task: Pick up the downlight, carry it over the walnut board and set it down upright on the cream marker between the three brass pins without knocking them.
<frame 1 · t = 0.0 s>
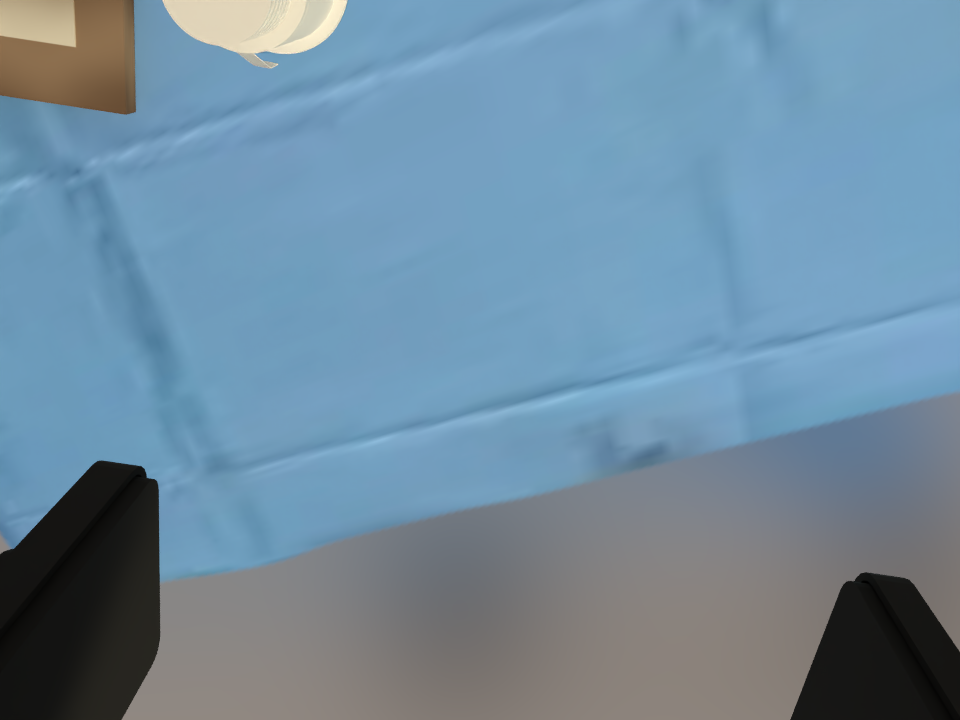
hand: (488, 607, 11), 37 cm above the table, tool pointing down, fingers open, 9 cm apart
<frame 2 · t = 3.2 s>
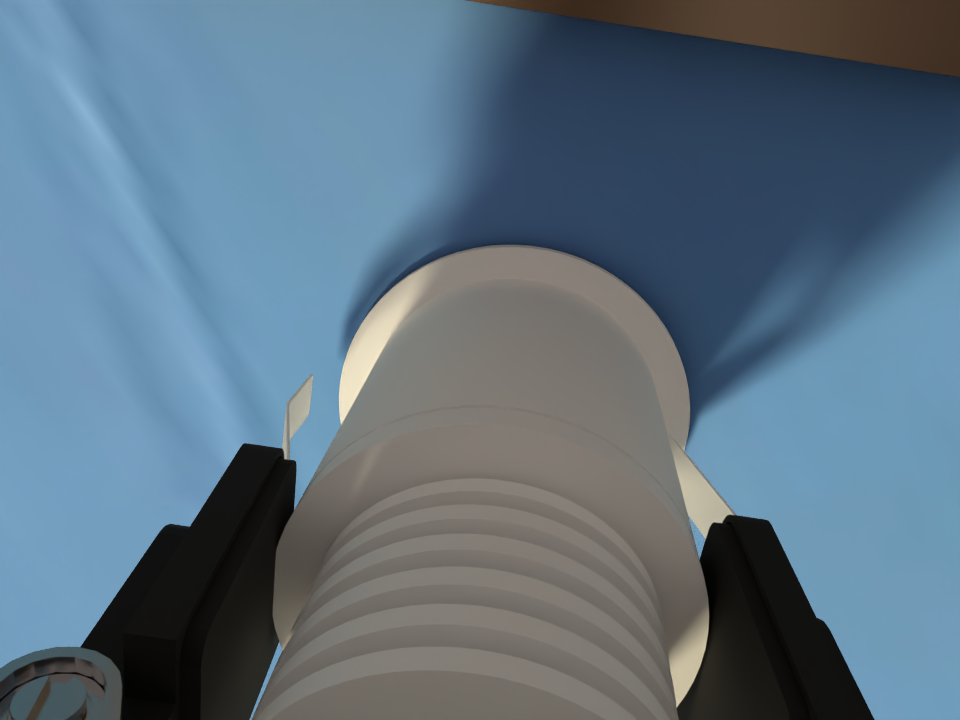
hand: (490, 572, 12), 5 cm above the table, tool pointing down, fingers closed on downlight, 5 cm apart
downlight: (506, 405, 17), on the table, touching gripper
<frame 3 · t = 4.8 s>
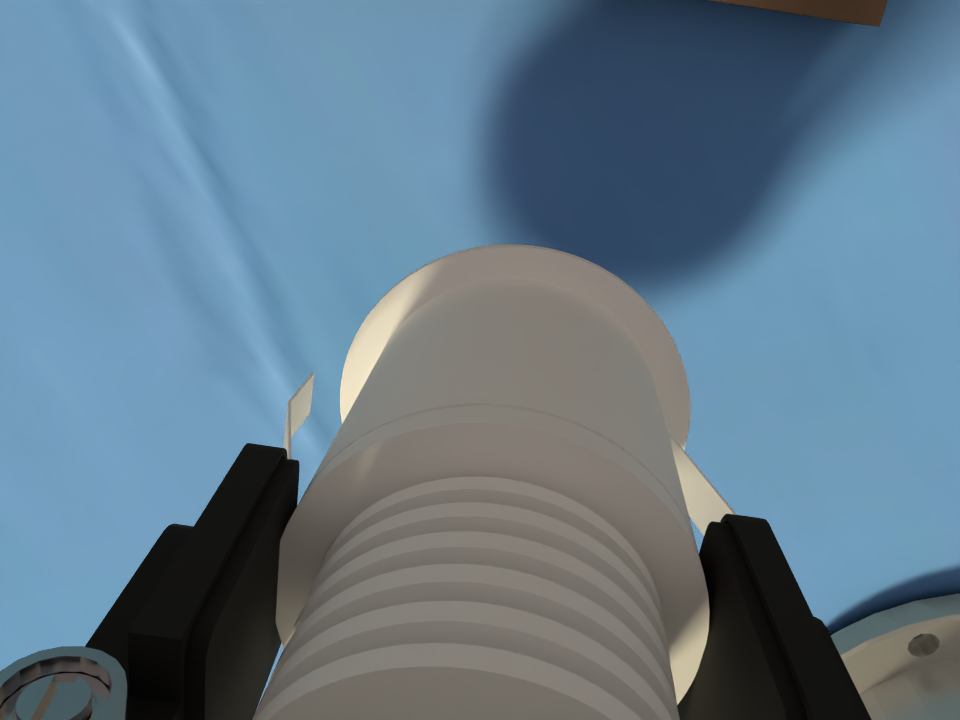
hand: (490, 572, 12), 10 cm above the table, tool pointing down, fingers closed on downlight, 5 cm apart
downlight: (506, 404, 17), point 5 cm above the table, touching gripper
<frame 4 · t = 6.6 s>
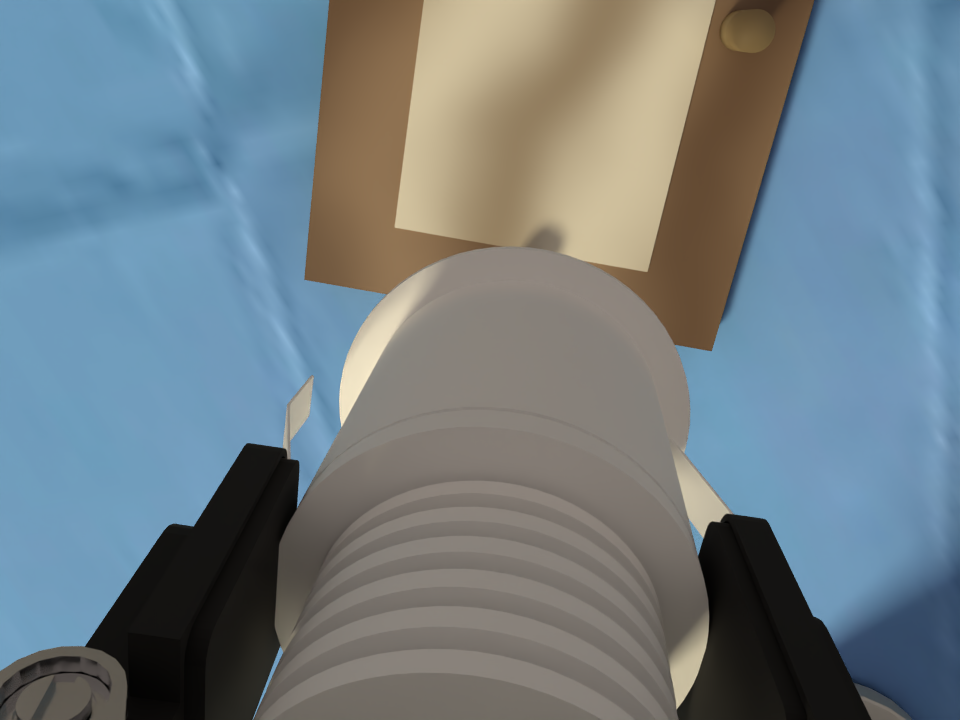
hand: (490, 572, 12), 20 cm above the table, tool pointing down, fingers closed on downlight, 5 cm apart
pin board: (548, 99, 29), on the table
downlight: (506, 406, 17), point 14 cm above the table, touching gripper
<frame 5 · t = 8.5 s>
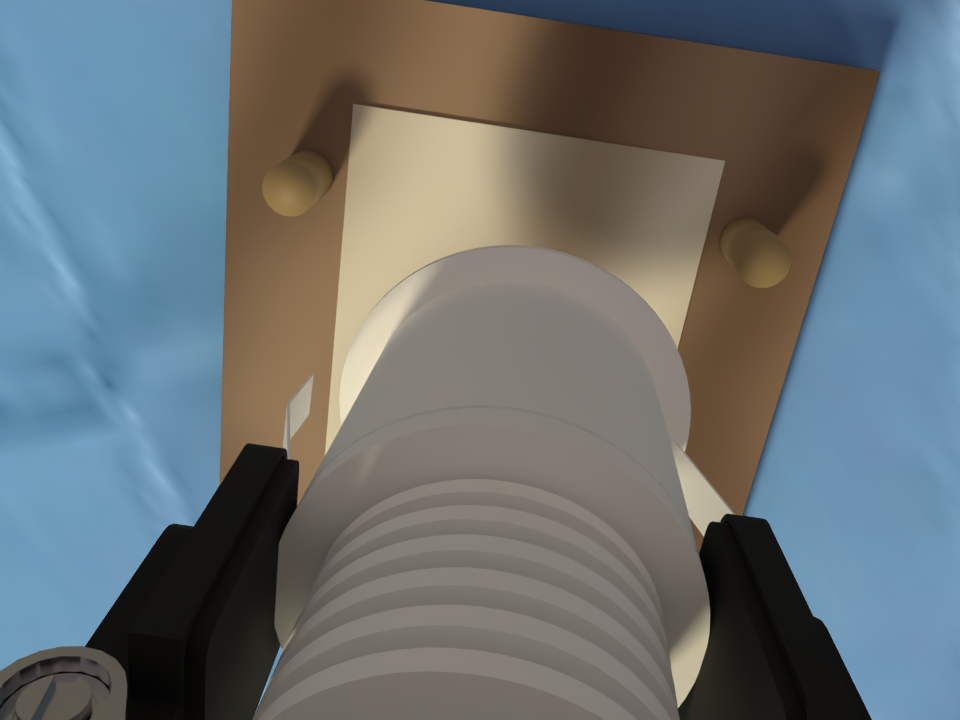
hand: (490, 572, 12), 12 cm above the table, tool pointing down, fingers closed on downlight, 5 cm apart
pin board: (508, 310, 23), on the table
downlight: (506, 405, 17), point 6 cm above the table, touching gripper
when the fingers open (8 cm above the table, at t = 9.7 s): downlight drops 1 cm, resting on pin board.
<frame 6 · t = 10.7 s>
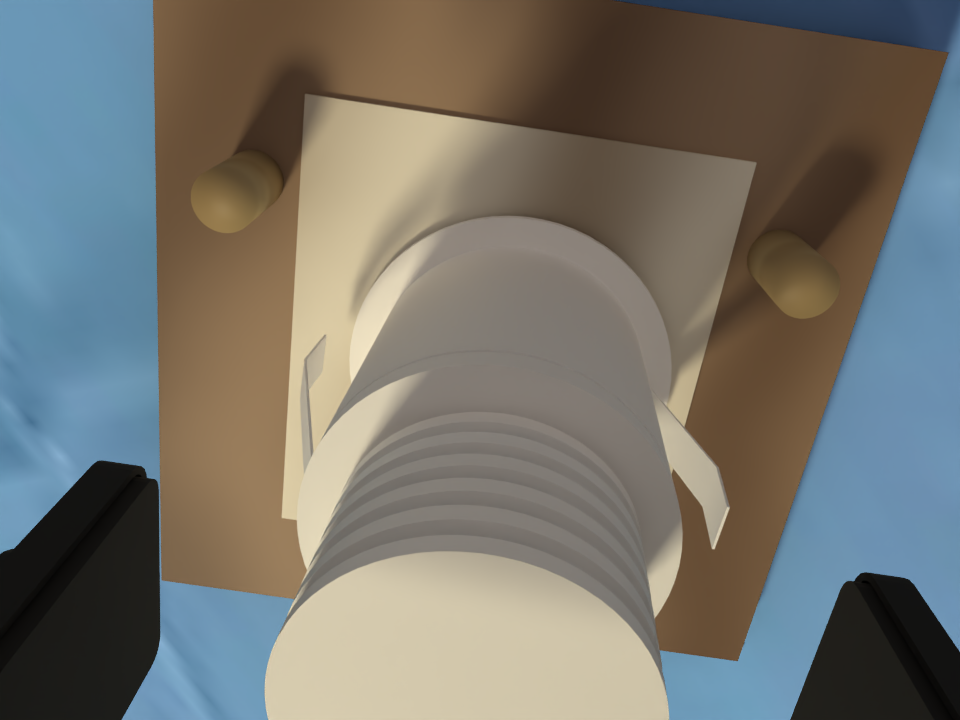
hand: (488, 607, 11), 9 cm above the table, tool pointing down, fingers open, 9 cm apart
pin board: (495, 336, 20), on the table
downlight: (503, 365, 19), point 1 cm above the table, touching pin board
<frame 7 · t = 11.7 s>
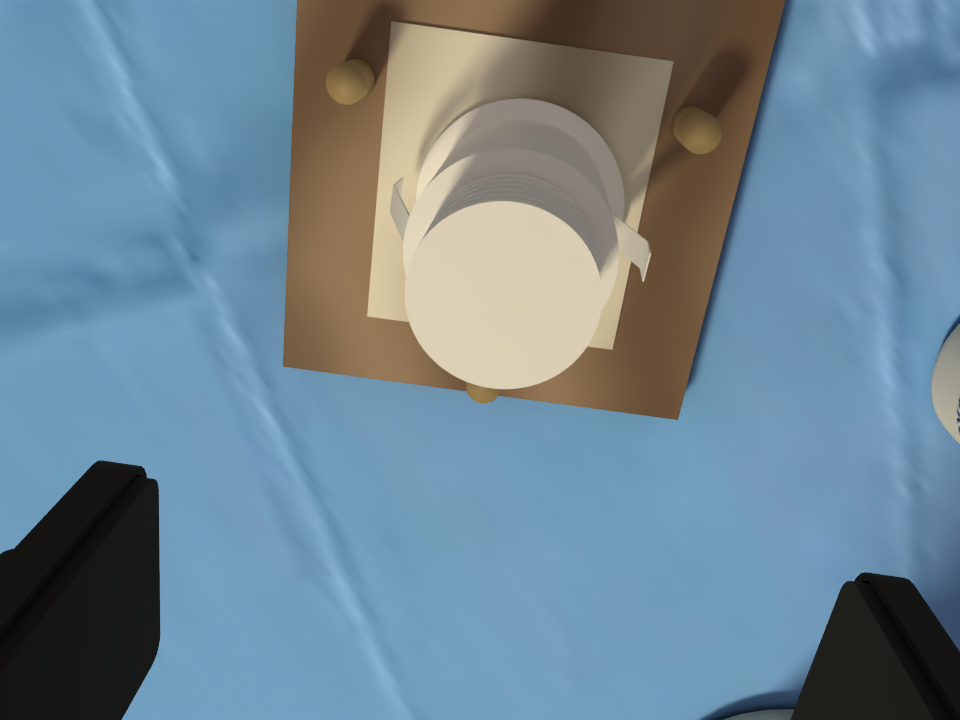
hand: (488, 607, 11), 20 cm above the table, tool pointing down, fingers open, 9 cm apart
pin board: (510, 189, 30), on the table
downlight: (515, 203, 29), point 1 cm above the table, touching pin board
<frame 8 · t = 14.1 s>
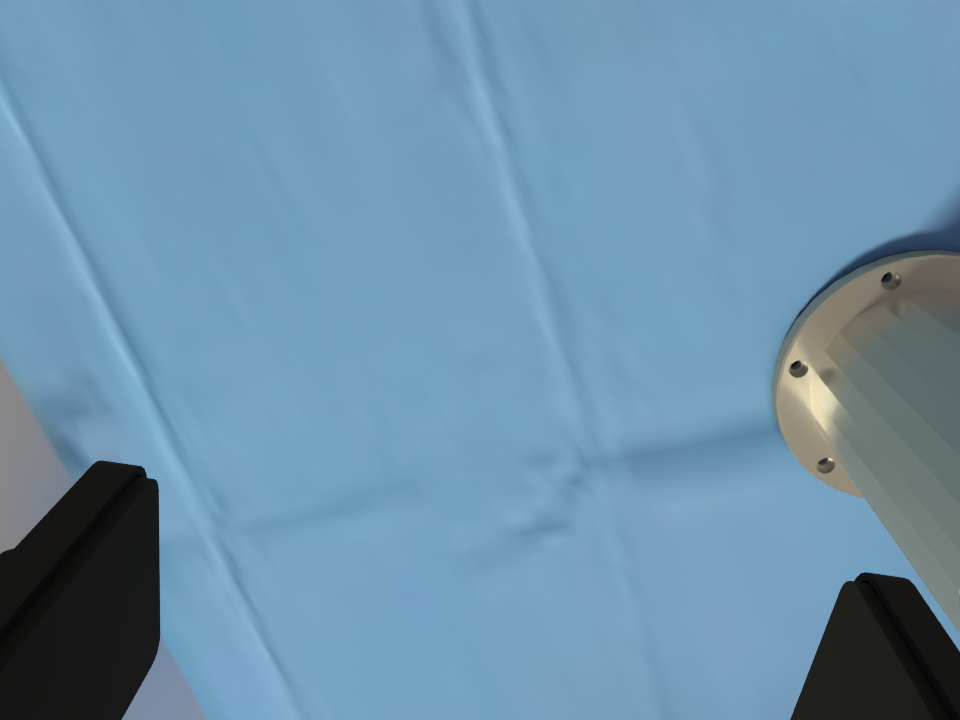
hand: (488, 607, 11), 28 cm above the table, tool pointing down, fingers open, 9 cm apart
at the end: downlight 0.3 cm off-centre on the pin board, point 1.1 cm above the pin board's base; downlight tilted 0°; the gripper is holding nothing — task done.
